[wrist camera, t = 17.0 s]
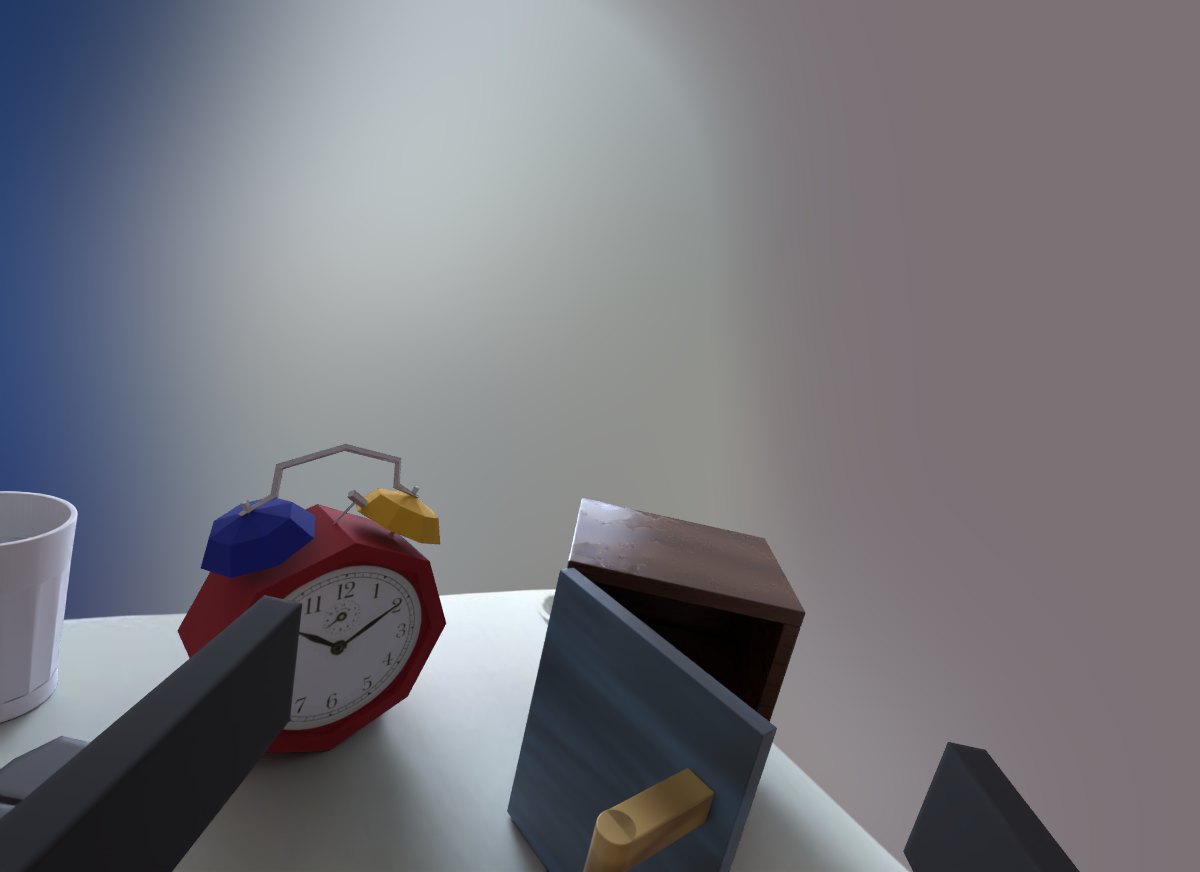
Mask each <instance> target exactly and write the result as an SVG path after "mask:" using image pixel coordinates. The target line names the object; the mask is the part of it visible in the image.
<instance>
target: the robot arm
mask: <svg viewBox="0 0 1200 872" xmlns="http://www.w3.org/2000/svg"><path fill="white" fill-rule="evenodd" d="M301 612H302V603H298V602H293V601H289V600H284V599H280V598H275V597H270V596H266V595H264V596H263V597H262V598H261V599H259V600H258V601H257V602H256V603H255V604H254V605H252V606H251V607H250V608H249V609H248V610H246V611H245V612H244V613H243V614H242V615H241V616H239V617H238V618H237V619H236V620H235V621H233V622H232V623H231V624H230V625H229V626H228V627H226V628H225V629H224V630H223V631H222V632H221V633H219V634H218V635H217V636H216V637H215V638H213V639H212V640H211V641H210V642H209V643H208V644H206V645H205V646H204V647H203V648H202V649H200V650H199V651H198V652H197V653H196V654H195V655H193V656H192V657H191V658H190V659H189V660H187V661H186V662H185V663H184V664H183V665H182V666H180V667H179V668H178V669H177V670H176V671H174V672H173V673H172V674H171V675H170V676H169V677H167V678H166V679H165V680H164V681H163V682H161V683H160V684H159V685H158V686H157V687H156V688H154V689H153V690H152V691H151V692H150V693H148V694H147V695H146V696H145V697H144V698H143V699H141V700H140V701H139V702H138V703H137V704H135V705H134V706H133V707H132V708H131V709H130V710H128V711H127V712H126V713H125V714H124V715H122V716H121V717H120V718H119V719H118V720H117V721H115V722H114V723H113V724H112V725H111V726H109V727H108V728H107V729H106V730H105V731H104V732H102V733H101V734H100V735H99V736H98V737H96V738H95V739H94V740H93V741H92V742H87V741H82V740H78V739H73V738H68V737H63V736H61V737H58V738H56V739H54V740H52V741H50V742H48V743H46V744H44V745H42V746H40V747H38V748H36V749H34V750H32V751H29V752H27V753H25V754H23V755H21V756H19V757H17V758H15V759H13V760H12V761H11V762H9V763H8V764H7V765H6V766H4V767H3V768H2V769H0V872H172V871H173V870H174V868H175V867H176V866H177V865H178V863H179V862H180V861H181V859H182V858H183V857H184V856H185V854H186V853H187V852H188V851H189V849H190V848H191V847H192V845H193V844H194V843H195V842H196V840H197V839H198V838H199V836H200V835H201V834H202V833H203V831H204V830H205V829H206V827H207V826H208V825H209V824H210V822H211V821H212V820H213V818H214V817H215V816H216V815H217V813H218V812H219V811H220V810H221V808H222V807H223V806H224V804H225V803H226V802H227V801H228V799H229V798H230V797H231V795H232V794H233V793H234V792H235V790H236V789H237V788H238V786H239V785H240V784H241V783H242V781H243V780H244V779H245V778H246V776H247V775H248V774H249V772H250V771H251V770H252V769H253V767H254V766H255V765H256V763H257V762H258V761H259V760H260V758H261V757H262V756H263V754H264V753H265V752H266V751H267V749H268V748H269V747H270V745H271V744H272V743H273V742H274V740H275V739H276V738H277V737H278V735H279V734H280V733H281V731H282V730H283V729H284V728H285V726H286V725H287V724H288V722H289V721H290V715H291V706H292V697H293V687H294V678H295V668H296V659H297V650H298V640H299V631H300V622H301ZM904 854H905V856H906V858H907V860H908V862H909V864H910V866H911V868H912V870H913V872H1079V870H1078V869H1077V868H1076V866H1075V865H1074V864H1073V863H1072V861H1071V860H1070V859H1069V858H1068V856H1067V855H1066V853H1065V852H1064V851H1063V850H1062V848H1061V847H1060V846H1059V844H1058V843H1057V842H1056V841H1055V839H1054V838H1053V837H1052V836H1051V834H1050V833H1049V831H1048V830H1047V829H1046V828H1045V826H1044V825H1043V824H1042V822H1041V821H1040V820H1039V819H1038V817H1037V816H1036V815H1035V813H1034V812H1033V811H1032V810H1031V809H1030V807H1029V806H1028V804H1027V803H1026V802H1025V801H1024V799H1023V798H1022V797H1021V795H1020V794H1019V793H1018V792H1017V790H1016V789H1015V788H1014V786H1013V785H1012V784H1011V782H1010V781H1009V780H1008V779H1007V777H1006V776H1005V775H1004V773H1003V772H1002V771H1001V769H1000V768H999V767H998V766H997V764H996V763H995V762H994V760H993V759H992V758H991V756H990V755H989V754H988V753H987V751H986V750H983V749H979V748H974V747H969V746H964V745H960V744H955V743H951V742H948V743H947V746H946V749H945V751H944V753H943V756H942V758H941V761H940V763H939V766H938V768H937V771H936V773H935V775H934V778H933V780H932V782H931V785H930V788H929V790H928V792H927V795H926V797H925V800H924V803H923V805H922V807H921V810H920V812H919V814H918V817H917V819H916V822H915V824H914V827H913V829H912V831H911V834H910V836H909V839H908V841H907V844H906V846H905V849H904Z"/></svg>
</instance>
